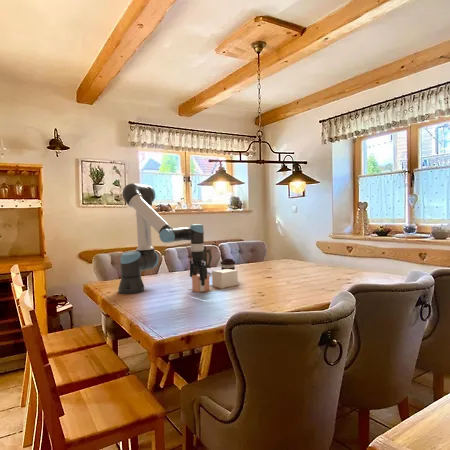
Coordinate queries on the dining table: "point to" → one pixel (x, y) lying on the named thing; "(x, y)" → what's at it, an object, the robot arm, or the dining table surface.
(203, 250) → the beer stein
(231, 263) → the coffee cup
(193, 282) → the stub
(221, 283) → the cream white block
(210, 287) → the board
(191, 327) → the dining table surface
